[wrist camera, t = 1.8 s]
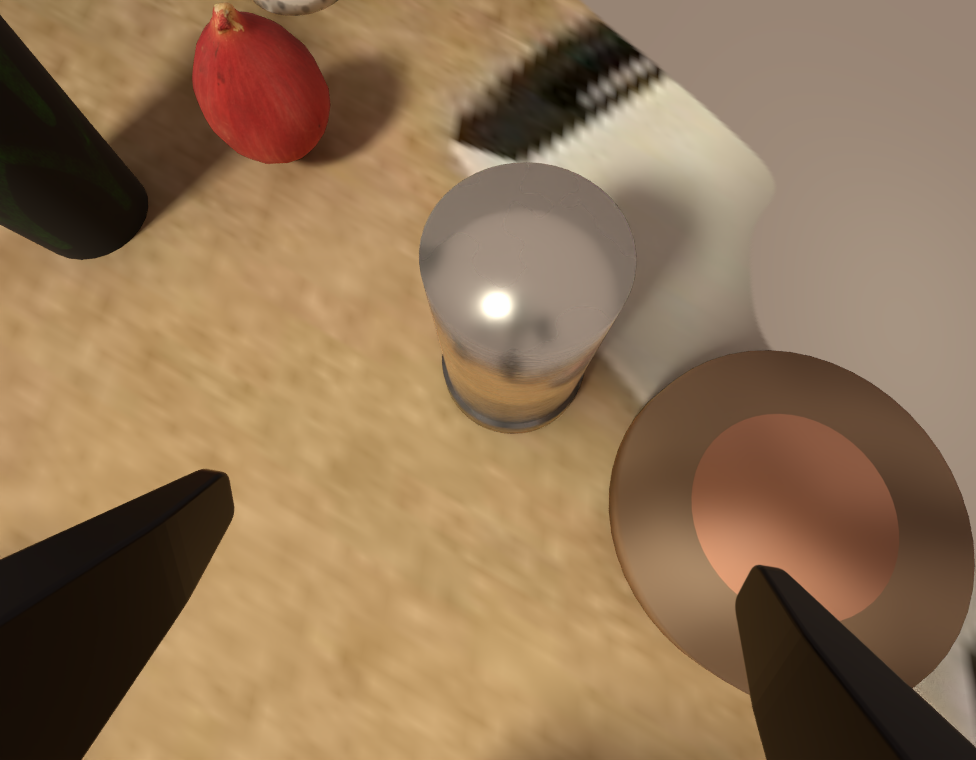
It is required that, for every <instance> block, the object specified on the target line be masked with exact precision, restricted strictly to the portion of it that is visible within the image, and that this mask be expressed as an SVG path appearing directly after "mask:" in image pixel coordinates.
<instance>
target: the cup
mask: <svg viewBox="0 0 976 760" xmlns="http://www.w3.org/2000/svg"><path fill="white" fill-rule="evenodd" d="M147 209H148V198H147V194H146V192H145V189H144V187H143V186H142V184H141V183H140V182H139V181H138V179H137V178H136V177H135V176H134V175H133V173H132V172H131V171H130V170H129V169H128V167H127V166H126V165H125V164H124V163H123V161H122V160H121V159H120V158H119V157H118V155H117V154H116V153H115V152H114V151H113V149H112V148H111V147H110V146H109V145H108V143H107V142H106V141H105V140H104V139H103V137H102V136H101V135H100V134H99V133H98V131H97V130H96V129H95V128H94V127H93V125H92V124H91V123H90V122H89V121H88V119H87V118H86V117H85V116H84V115H83V114H82V112H81V111H80V110H79V109H78V108H77V106H76V105H75V104H74V103H73V102H72V100H71V99H70V98H69V97H68V96H67V94H66V93H65V92H64V91H63V90H62V88H61V87H60V86H59V85H58V84H57V82H56V81H55V80H54V79H53V78H52V76H51V75H50V74H49V73H48V72H47V70H46V69H45V68H44V67H43V66H42V64H41V63H40V62H39V61H38V60H37V58H36V57H35V56H34V55H33V54H32V52H31V51H30V50H29V49H28V48H27V46H26V45H25V44H24V43H23V42H22V40H21V39H20V38H19V37H18V36H17V34H16V33H15V32H14V31H13V30H12V28H11V27H10V26H9V25H8V24H7V22H6V21H5V20H4V19H3V18H2V16H1V15H0V225H2V226H4V227H6V228H8V229H10V230H12V231H14V232H16V233H18V234H19V235H21V236H23V237H25V238H27V239H29V240H31V241H33V242H35V243H37V244H39V245H41V246H43V247H45V248H47V249H49V250H51V251H53V252H55V253H56V254H59V255H61V256H64V257H67V258H71V259H80V260H83V259H92V258H97V257H100V256H104V255H107V254H109V253H111V252H113V251H115V250H117V249H119V248H121V247H122V246H123V245H124V244H126V243H127V242H128V241H129V240H131V239H132V238H133V236H134V235H135V234H136V233H137V232H138V230H139V229H140V227H141V226H142V224H143V222H144V220H145V218H146V213H147Z"/></svg>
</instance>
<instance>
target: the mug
mask: <svg viewBox="0 0 976 760" xmlns="http://www.w3.org/2000/svg"><path fill="white" fill-rule="evenodd" d="M336 1H338V0H254V2H255V3H256V4H257V5H259V6H260V7H262V8H263V9H265V10H267V11H269V12H272V13H275V14H281V15H292V16H298V15H305V14H311V13H314V12H317V11H320V10H323V9H325V8H327V7H328V6H330V5H332V4H334V3H335V2H336Z"/></svg>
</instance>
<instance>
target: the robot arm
mask: <svg viewBox="0 0 976 760" xmlns="http://www.w3.org/2000/svg"><path fill="white" fill-rule="evenodd" d="M233 515H234V502H233V497H232V491H231V486H230V480H229V477H228V475H227V474H226V473H224V472H221V471H215V470H209V469H201V470H198V471H195V472H193V473H191V474H189V475H187V476H184V477H182V478H180V479H178V480H175V481H173V482H171V483H169V484H167V485H164V486H162V487H160V488H158V489H156V490H153V491H151V492H149V493H147V494H144V495H142V496H140V497H138V498H136V499H133V500H131V501H129V502H127V503H125V504H122V505H120V506H118V507H116V508H113V509H111V510H109V511H107V512H105V513H102V514H100V515H98V516H96V517H94V518H91V519H89V520H87V521H85V522H82V523H80V524H78V525H76V526H74V527H71V528H69V529H67V530H65V531H63V532H60V533H58V534H56V535H54V536H51V537H49V538H47V539H45V540H43V541H40V542H38V543H36V544H34V545H31V546H29V547H27V548H25V549H23V550H20V551H18V552H16V553H14V554H11V555H9V556H7V557H5V558H3V559H0V760H82V758H83V757H84V755H85V754H86V753H87V751H88V750H89V748H90V747H91V745H92V744H93V742H94V741H95V739H96V738H97V736H98V735H99V733H100V732H101V730H102V729H103V727H104V726H105V724H106V723H107V721H108V720H109V718H110V717H111V715H112V714H113V712H114V711H115V709H116V708H117V706H118V705H119V703H120V702H121V700H122V699H123V698H124V696H125V695H126V693H127V692H128V690H129V689H130V687H131V686H132V684H133V683H134V681H135V680H136V678H137V677H138V675H139V674H140V672H141V671H142V669H143V668H144V666H145V665H146V663H147V662H148V660H149V659H150V657H151V656H152V654H153V653H154V651H155V650H156V648H157V647H158V646H159V644H160V643H161V641H162V640H163V638H164V637H165V635H166V634H167V632H168V631H169V629H170V628H171V626H172V625H173V623H174V622H175V620H176V619H177V617H178V616H179V614H180V613H181V611H182V610H183V608H184V606H185V605H186V603H187V602H188V600H189V598H190V597H191V595H192V593H193V591H194V590H195V588H196V586H197V584H198V582H199V580H200V579H201V577H202V575H203V573H204V571H205V569H206V567H207V566H208V564H209V562H210V560H211V558H212V556H213V554H214V553H215V551H216V549H217V547H218V545H219V543H220V541H221V540H222V538H223V536H224V534H225V532H226V530H227V529H228V527H229V525H230V523H231V521H232V518H233ZM735 613H736V619H737V624H738V630H739V636H740V641H741V647H742V653H743V659H744V664H745V670H746V676H747V681H748V687H749V693H750V698H751V702H752V707H753V712H754V715H755V719H756V723H757V727H758V731H759V734H760V738H761V741H762V745H763V748H764V752H765V756H766V759H767V760H976V747H975V746H974V745H973V744H972V743H971V742H969V741H968V740H967V739H966V738H965V737H964V736H963V735H962V734H961V733H960V732H959V731H958V730H957V729H955V728H954V727H953V726H952V725H951V724H950V723H949V722H948V721H947V720H946V719H945V718H944V717H942V716H941V715H940V714H939V713H938V712H937V711H936V710H935V709H934V708H933V707H932V706H931V705H930V704H928V703H927V702H926V701H925V700H924V699H923V698H922V697H921V696H920V695H919V694H918V693H917V692H915V691H914V690H913V689H912V688H911V687H910V686H909V685H908V684H907V683H906V682H905V681H904V680H903V679H901V678H900V677H899V676H898V675H897V674H896V673H895V672H894V671H893V670H892V669H891V668H890V667H888V666H887V665H886V664H885V663H884V662H883V661H882V660H881V659H880V658H879V657H878V656H877V655H876V654H874V653H873V652H872V651H871V650H870V649H869V648H868V647H867V646H866V645H865V644H864V643H863V642H861V641H860V640H859V639H858V638H857V637H856V636H855V635H854V634H853V633H852V632H851V631H850V630H849V629H847V628H846V627H845V626H844V625H843V624H842V623H841V622H840V621H839V620H838V619H837V618H836V617H834V616H833V615H832V614H831V613H830V612H829V611H828V610H827V609H826V608H825V607H824V606H823V605H822V604H820V603H819V602H818V601H817V600H816V599H815V598H814V597H813V596H812V595H811V594H810V593H809V592H807V591H806V590H805V589H804V588H803V587H802V586H801V585H800V584H799V583H798V582H797V581H796V580H795V579H793V578H792V577H791V576H790V575H789V574H788V573H787V572H786V571H784V570H783V569H780V568H776V567H771V566H765V565H755V566H754V567H752V569H751V570H750V572H749V574H748V576H747V578H746V580H745V581H744V583H743V585H742V587H741V589H740V591H739V593H738V595H737V597H736V601H735Z"/></svg>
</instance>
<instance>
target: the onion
mask: <svg viewBox="0 0 976 760" xmlns="http://www.w3.org/2000/svg"><path fill="white" fill-rule="evenodd" d="M192 81H193V90H194V92H195V95H196V98H197V101H198V103H199V106H200V108H201V110H202V112H203V114H204V117H205V119H206V120H207V122H208V123H209V125H210V127H211V128H212V130H213V131H214V132H215V133H216V134H217V135H218V136H219V137H220V138H221V139H222V140H223V141H224V142H226V143H227V144H228V145H229V146H230V147H231V148H233V149H234V150H235V151H236V152H237V153H239V154H241V155H243V156H245V157H248V158H250V159H253V160H256V161H259V162H262V163H266V164H273V163H289V162H292V161H295V160H298V159H301V158H302V157H304V156H305V155H306V154H307V153H309V152H310V151H311V150H312V149H313V148H314V147H315V146H316V145H317V143H318V142H319V140H320V138H321V137H322V135H323V134H324V132H325V129H326V126H327V123H328V118H329V111H330V97H329V89H328V86H327V84H326V82H325V80H324V78H323V76H322V73H321V71H320V69H319V67H318V65H317V63H316V61H315V59H314V57H313V56H312V55H311V53H310V52H309V51H308V49H307V48H306V46H305V45H304V44H302V43H301V42H300V41H299V40H298V39H297V38H296V37H294V36H293V35H292V34H291V33H289V32H288V31H287V30H286V29H284V28H283V27H282V26H281V25H279V24H277V23H275V22H274V21H272V20H269V19H266V18H264V17H261V16H258V15H255V14H253V13H248V12H239V11H237V10H236V9H235V8H234V7H233V5H231V4H229V3H220V4H215V6H214V8H213V17H212V18H211V20H210V22H209V23H208V24H207V25H206V26H205V28H204V29H203V31H202V34H201V36H200V38H199V40H198V42H197V44H196V50H195V57H194V65H193V75H192Z"/></svg>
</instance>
